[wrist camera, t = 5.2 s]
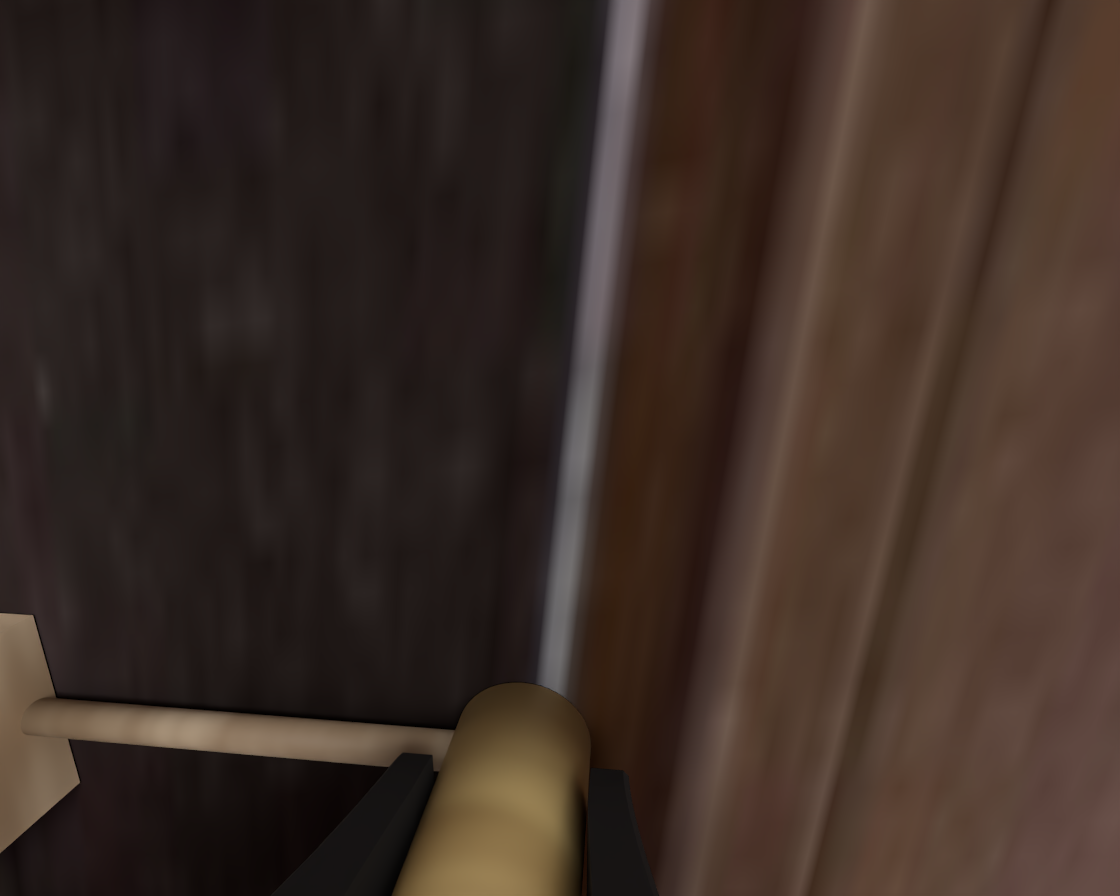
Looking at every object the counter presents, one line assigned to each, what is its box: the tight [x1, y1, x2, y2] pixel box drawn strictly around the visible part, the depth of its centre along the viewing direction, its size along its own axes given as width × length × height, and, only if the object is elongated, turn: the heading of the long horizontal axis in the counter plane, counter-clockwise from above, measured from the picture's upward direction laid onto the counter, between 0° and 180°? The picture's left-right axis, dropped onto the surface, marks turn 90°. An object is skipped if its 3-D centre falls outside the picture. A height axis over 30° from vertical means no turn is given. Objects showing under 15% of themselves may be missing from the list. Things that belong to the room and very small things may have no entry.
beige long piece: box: [0, 613, 591, 896], centre depth 10 cm, size 5×18×6 cm, turn 90°
